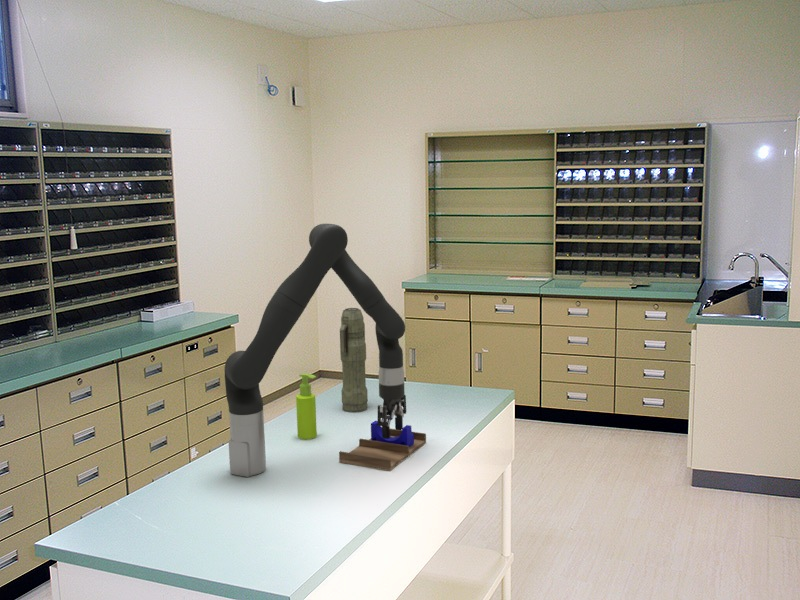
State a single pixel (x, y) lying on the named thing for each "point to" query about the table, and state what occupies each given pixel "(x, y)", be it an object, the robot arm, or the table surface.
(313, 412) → the soap dispenser
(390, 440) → the blue cradle stand
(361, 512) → the table surface
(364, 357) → the thermos
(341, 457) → the rack
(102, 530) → the table surface
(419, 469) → the table surface
